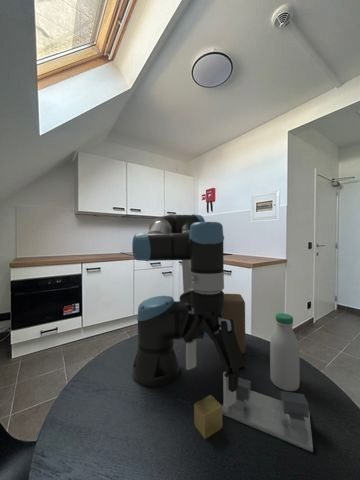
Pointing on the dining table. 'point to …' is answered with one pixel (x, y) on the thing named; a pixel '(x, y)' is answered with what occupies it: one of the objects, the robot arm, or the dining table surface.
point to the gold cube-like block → (208, 416)
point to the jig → (273, 414)
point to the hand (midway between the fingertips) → (208, 383)
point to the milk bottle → (284, 354)
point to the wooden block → (235, 316)
